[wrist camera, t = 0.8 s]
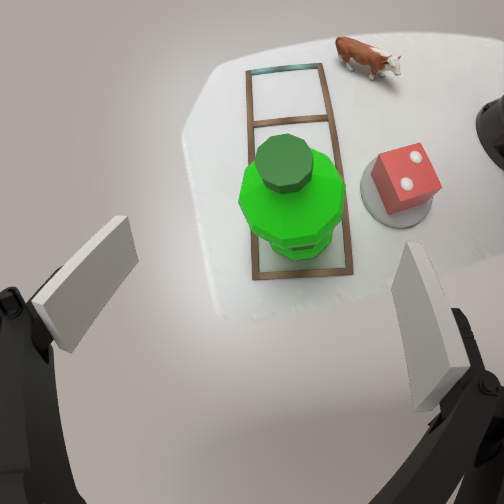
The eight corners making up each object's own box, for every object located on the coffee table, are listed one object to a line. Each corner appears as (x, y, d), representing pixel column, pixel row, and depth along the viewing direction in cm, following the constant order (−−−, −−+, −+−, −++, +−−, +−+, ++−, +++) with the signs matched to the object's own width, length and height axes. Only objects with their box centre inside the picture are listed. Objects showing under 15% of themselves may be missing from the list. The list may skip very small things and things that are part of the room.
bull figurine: (392, 96, 45) (400, 68, 37) (331, 64, 48) (331, 35, 40) (401, 83, 45) (409, 56, 37) (342, 53, 48) (343, 24, 40)
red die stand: (410, 150, 43) (425, 124, 34) (440, 215, 40) (462, 199, 32) (349, 168, 45) (354, 142, 36) (377, 238, 42) (391, 225, 34)
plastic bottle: (284, 188, 46) (253, 88, 22) (345, 217, 44) (376, 135, 19) (254, 244, 46) (189, 189, 22) (315, 276, 43) (319, 254, 19)
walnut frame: (321, 64, 48) (321, 62, 48) (352, 274, 42) (353, 274, 42) (246, 72, 51) (245, 70, 51) (252, 279, 45) (252, 279, 45)
